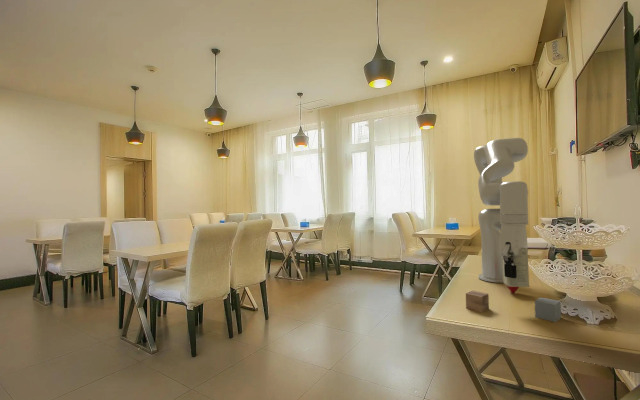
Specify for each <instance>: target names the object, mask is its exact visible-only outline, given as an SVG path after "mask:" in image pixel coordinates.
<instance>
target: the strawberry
mask: <svg viewBox="0 0 640 400" xmlns="http://www.w3.org/2000/svg"><path fill="white" fill-rule="evenodd" d="M505 286H506V288H507V289H508V290H509V292H510V293H511V294H515V293H516V292H517V291H518V290H519V288H520V287H511V286H507V285H505Z"/></svg>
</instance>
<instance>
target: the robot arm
mask: <svg viewBox="0 0 640 400" xmlns="http://www.w3.org/2000/svg"><path fill="white" fill-rule="evenodd" d="M528 152H529V147H528V143H527V141H526V140H525V139H523V138H522V137H511V138H509V137H508V138H500V139H494V140H491V141H489V142H487V144H486V145H485V144H484V145H480V146H477V147H476V148H475V149H474V152H473V160H474V164H475V166H476V169H477V171H478V174H479V177H478V181H477V183H478V192H479V197H480V201H481V202H482V204H483V205H485V206H499V208H486V209H482V210H481V211H480V212H479V213H478V215H477V217H478V225H479V229H480V239H481V242H480V244H481V272H482V273H480V274H478V279H479V280H481V281H484V282H489V283H496V284H498V283H499V284H501V283H502V284H504V283H503V260H502V256H503V259H504V272H505V277H509V278H517V273H516V265H515V261H516V257H517V256H520V255H521V249H523V248H527V249H528V233H527V226H528V225H529V200H528V197H529V190H528V184H527V183H526V182H525V181H522V180H521V181H520V180H519V181H513V180H512V181H503V178H505V177H506V176H508V175H510V174H512V172H514V169H515V163H517V162H520V161H523V160H524V159H525V158H526V157H527V155H528ZM509 253H511V254H513V255H509ZM511 258H512V260H511Z"/></svg>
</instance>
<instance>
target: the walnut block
mask: <svg viewBox="0 0 640 400" xmlns="http://www.w3.org/2000/svg"><path fill="white" fill-rule="evenodd" d="M489 299H490V296H489V293H486V292H483V291H482V292H481V291H478V290H470V291H469V292H465V308H466V309H468V310H470V311H475V312H479V313H483V312H486V311H487V310H489V309H490V300H489Z"/></svg>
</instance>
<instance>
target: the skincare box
mask: <svg viewBox="0 0 640 400" xmlns="http://www.w3.org/2000/svg"><path fill="white" fill-rule="evenodd" d="M528 251H529V250H528V247H527V248H523V249H521V255H520V256H517V257H516V261H515V265H516V273H517V278H509V277H505V272H504V259H503V256H502V260H503V283H502V284H505V286H506V285H507V286H511V287H519V288H529V287H530V277H529V273H530V272H529V254H528ZM509 255H513V254H511V253H509ZM511 260H512V258H511ZM507 286H506V287H507Z"/></svg>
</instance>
